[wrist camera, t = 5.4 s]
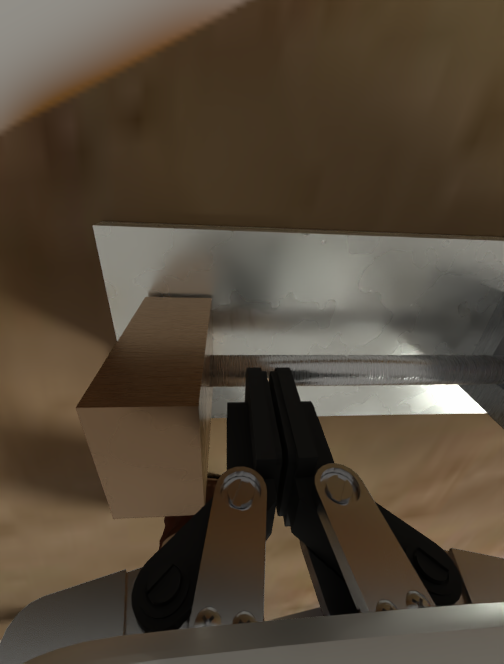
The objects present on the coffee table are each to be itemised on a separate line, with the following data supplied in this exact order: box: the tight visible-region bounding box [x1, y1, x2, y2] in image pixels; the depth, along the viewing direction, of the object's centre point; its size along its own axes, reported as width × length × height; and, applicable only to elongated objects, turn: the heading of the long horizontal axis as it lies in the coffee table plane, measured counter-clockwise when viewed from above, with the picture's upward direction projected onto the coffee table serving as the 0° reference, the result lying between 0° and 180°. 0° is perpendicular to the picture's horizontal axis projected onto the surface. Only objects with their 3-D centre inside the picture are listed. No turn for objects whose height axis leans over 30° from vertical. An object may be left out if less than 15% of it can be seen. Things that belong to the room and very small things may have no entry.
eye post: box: [93, 221, 504, 429], centre depth 14 cm, size 26×11×6 cm, turn 87°
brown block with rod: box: [76, 297, 504, 519], centre depth 12 cm, size 19×5×7 cm, turn 87°
